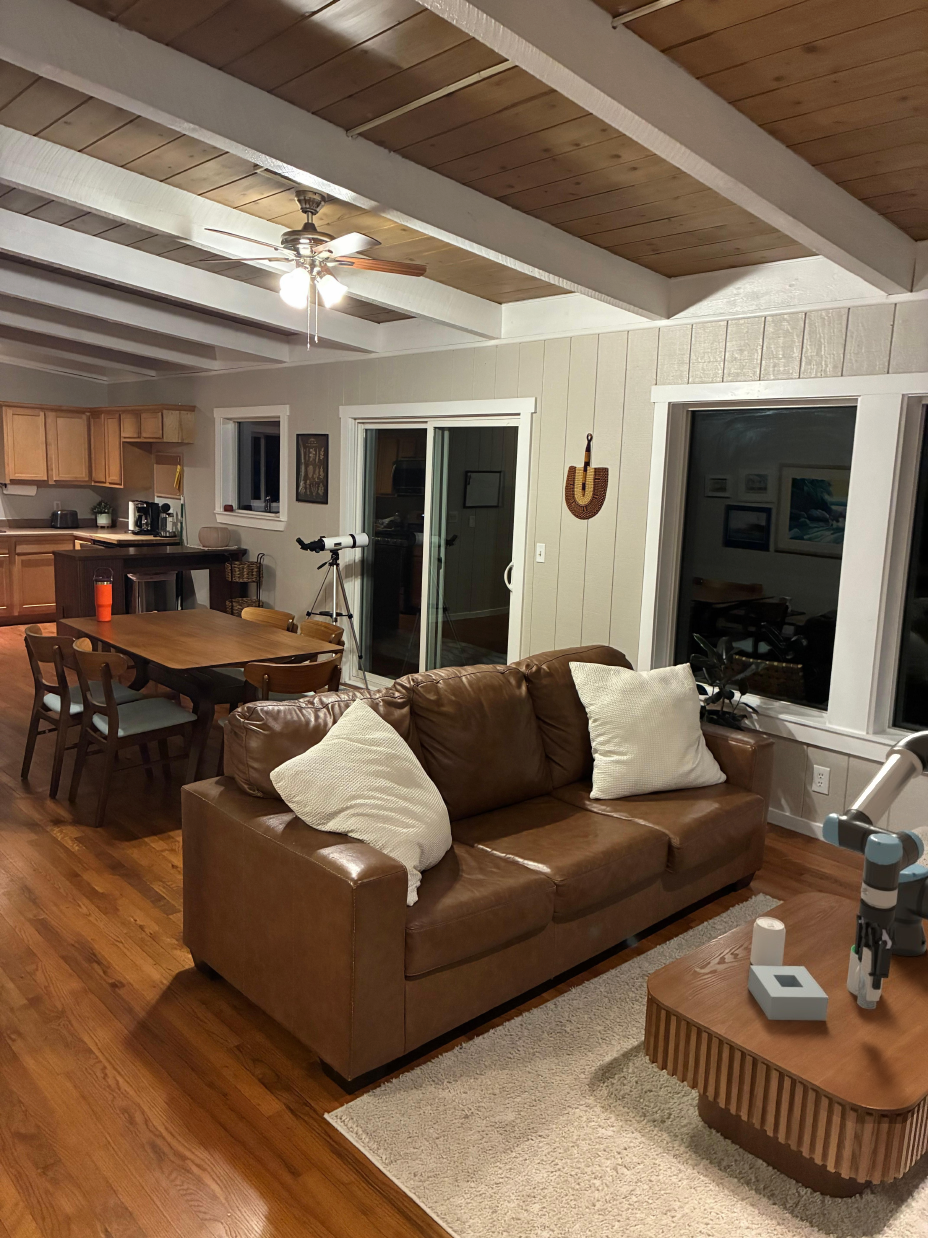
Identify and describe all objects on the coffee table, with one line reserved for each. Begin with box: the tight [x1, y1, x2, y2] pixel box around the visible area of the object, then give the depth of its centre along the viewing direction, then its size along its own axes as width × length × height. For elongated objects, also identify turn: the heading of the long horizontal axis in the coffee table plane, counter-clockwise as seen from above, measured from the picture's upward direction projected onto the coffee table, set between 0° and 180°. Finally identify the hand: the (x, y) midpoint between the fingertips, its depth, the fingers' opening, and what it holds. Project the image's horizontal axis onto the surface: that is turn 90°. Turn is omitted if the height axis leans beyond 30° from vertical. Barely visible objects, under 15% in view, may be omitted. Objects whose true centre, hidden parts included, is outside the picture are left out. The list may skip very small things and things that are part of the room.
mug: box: [846, 944, 884, 998], centre depth 230 cm, size 12×8×10 cm, turn 145°
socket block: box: [747, 965, 829, 1021], centre depth 224 cm, size 14×14×6 cm
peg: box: [856, 945, 877, 1010], centre depth 213 cm, size 4×4×14 cm
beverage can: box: [749, 916, 787, 966], centre depth 242 cm, size 8×8×12 cm
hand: (867, 994), depth 214 cm, fingers closed on peg, 4 cm apart
